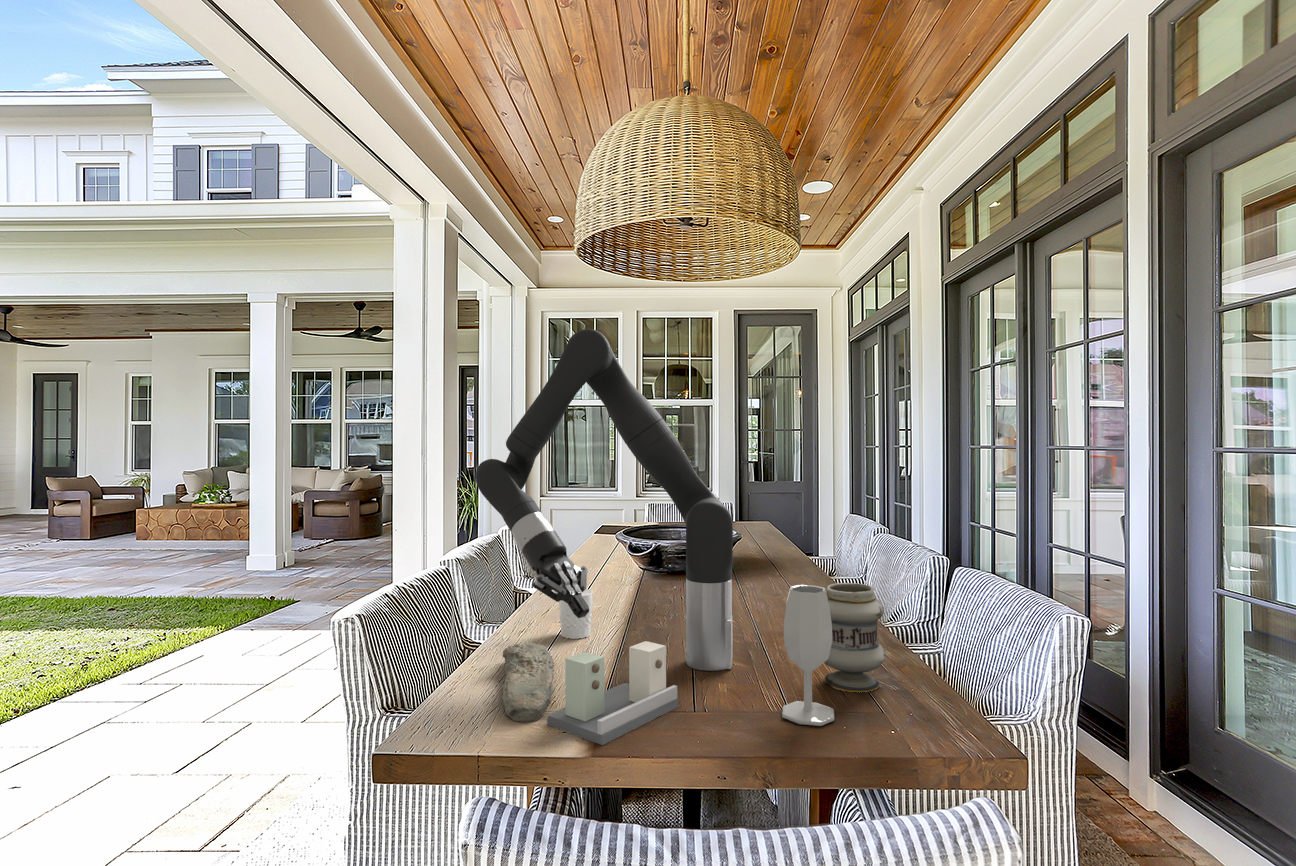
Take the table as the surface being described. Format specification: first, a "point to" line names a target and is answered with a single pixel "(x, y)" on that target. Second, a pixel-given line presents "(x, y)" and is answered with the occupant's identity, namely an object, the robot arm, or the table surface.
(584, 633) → the white cup
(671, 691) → the tile board
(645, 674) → the white block
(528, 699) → the elongated rock
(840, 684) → the apothecary jar
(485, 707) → the table surface
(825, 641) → the wineglass
